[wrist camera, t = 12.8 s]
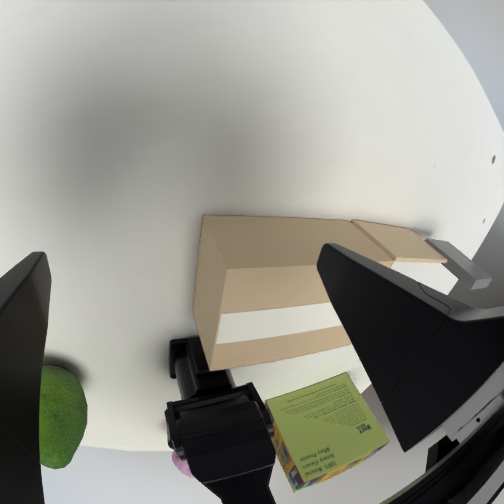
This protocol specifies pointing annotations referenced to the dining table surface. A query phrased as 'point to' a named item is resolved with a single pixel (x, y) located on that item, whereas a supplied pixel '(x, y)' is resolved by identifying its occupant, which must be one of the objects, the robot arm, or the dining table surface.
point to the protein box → (323, 431)
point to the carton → (269, 287)
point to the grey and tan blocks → (424, 251)
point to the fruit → (60, 416)
